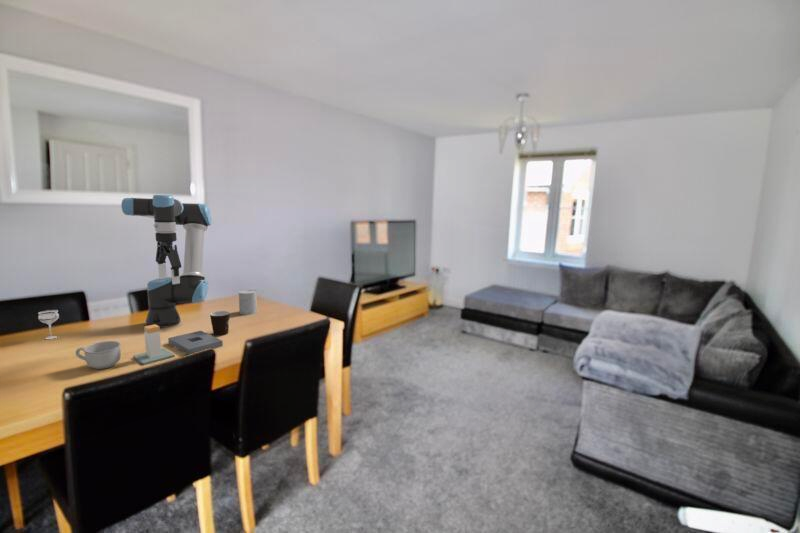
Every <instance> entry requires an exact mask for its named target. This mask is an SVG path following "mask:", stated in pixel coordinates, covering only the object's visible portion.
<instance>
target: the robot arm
mask: <svg viewBox="0 0 800 533" xmlns="http://www.w3.org/2000/svg"><path fill="white" fill-rule="evenodd" d="M210 210H211V209H210V207H209V205H207V204H205V203H190V202H189V203H187V202H185V203H182V202H181V201H180V200H179V199H176V198H174V196H173V195H172V194H171V195H170V194H154V195H153V196H152V198H143V197H141V198H140V197H125V198H123V199H122V201H121V211H122V213H123V214H124V215H126V216H131V217H135V216H136V217H137V216H138V217H145V218H146V217H147V218H151V219H153V220H154V224H153V227H154V230H155V233H154V235H155V241H156V255H155V262H156V263H157V266H158V278H156V279H152V280H149V281H148V282H147V288H146V289H147V290H146V293H147V303H148V305H147V306H148V312H147V315H146V318H145V326H149V325H154V324H156V325H158V326H160V328H166V327H173V326H175V325H177V324H180V323H181V315H180V314H179V312H178V309H177V307H176V304H195V303H202V302H204V301H205V299H206V298H207V295H208V291H209V282H208V280H207V279H206V277H205V276H204V275H203V256H204V243H205V242H204V241H205V240H204V239H205V231H207V230H208V227H209V226H212V214H211V211H210ZM176 225H177V226H178V225H179V226H182V228H183V229H184V230H185V241H184V257H183V269H182V270H183V271H182V273H181V274H180V268H182V263H181V260H180V256H179V253H178V252H179V251H178V245H177V244H173V243H174V242H176V241H177V240H178V238H177V233H176V231H177V226H176ZM167 257H168V258H167ZM166 258H167V259H168V260H169V262H170V266H171V267H170V270H171V272H170V273H171V276H169V277H168V276H167V266H166V263H167V262H166Z"/></svg>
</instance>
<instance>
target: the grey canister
mask: <svg viewBox="0 0 800 533" xmlns="http://www.w3.org/2000/svg"><path fill="white" fill-rule="evenodd" d="M257 292H258V291H257V290H255V289H254V290H253V289H243V290H240V291H238V304H239V306H238V307H239V308H238V309H239V314H240V315H244V316H249V315H255V314H257V313H258V304H257V303H258V301H257Z"/></svg>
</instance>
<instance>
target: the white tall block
mask: <svg viewBox="0 0 800 533" xmlns="http://www.w3.org/2000/svg"><path fill="white" fill-rule="evenodd" d="M143 328H144V329H143V330H144V341H145V342H144V345H145V353H146V355H147V356H148V357H149V358H152V357H156V356H160V355H161V349H162V346H161V345H162V343H161V341H162V340H161V330H160V328H161V327H160V326H158V325H156V324H154V325H149V326H146V325H145V326H143Z"/></svg>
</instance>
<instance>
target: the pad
mask: <svg viewBox="0 0 800 533" xmlns="http://www.w3.org/2000/svg"><path fill="white" fill-rule="evenodd" d="M175 357H176V356H175V354H174V353H172V352H171V351H169V350H167V349H165V348H163V347H161V355H160V356H156V357H152V358H149V357H148V356H147V355H146V352H143V353H138V354H134V355H132V358H133V359H134V360H136V361H137V362H138V363H139V364H141V365H143V366H146V365H149V364H153V363H157V362H160V361H164V360H167V359H172V358H175Z"/></svg>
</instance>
